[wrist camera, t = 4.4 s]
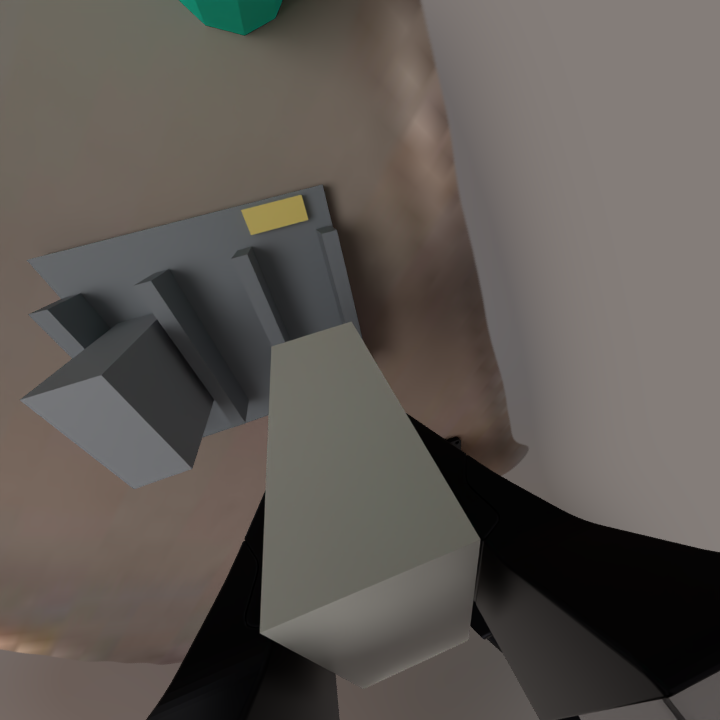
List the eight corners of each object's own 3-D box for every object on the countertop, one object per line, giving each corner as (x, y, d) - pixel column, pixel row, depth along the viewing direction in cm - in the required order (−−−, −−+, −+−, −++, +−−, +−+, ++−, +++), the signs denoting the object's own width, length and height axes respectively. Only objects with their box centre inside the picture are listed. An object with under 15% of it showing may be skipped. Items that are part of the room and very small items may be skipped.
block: (380, 434, 12) (468, 639, 7) (322, 455, 12) (363, 689, 6) (351, 321, 9) (481, 539, 3) (271, 346, 9) (258, 633, 3)
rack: (366, 374, 23) (402, 444, 16) (192, 432, 21) (154, 536, 15) (320, 185, 15) (352, 175, 9) (41, 256, 14) (-179, 310, 7)
